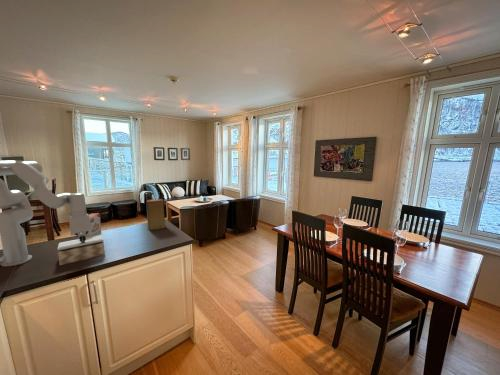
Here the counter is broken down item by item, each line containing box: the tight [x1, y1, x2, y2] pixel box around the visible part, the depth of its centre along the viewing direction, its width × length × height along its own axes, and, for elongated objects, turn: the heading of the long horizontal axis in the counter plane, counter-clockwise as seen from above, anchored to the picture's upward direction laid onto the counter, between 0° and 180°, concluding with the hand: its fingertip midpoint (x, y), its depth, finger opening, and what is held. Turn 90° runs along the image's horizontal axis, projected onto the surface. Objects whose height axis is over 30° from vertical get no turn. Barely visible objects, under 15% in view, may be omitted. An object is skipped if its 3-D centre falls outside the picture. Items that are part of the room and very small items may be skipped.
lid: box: [57, 234, 105, 251], centre depth 136 cm, size 22×14×1 cm, turn 129°
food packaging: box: [146, 198, 166, 231], centre depth 188 cm, size 13×9×25 cm
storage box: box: [57, 241, 106, 266], centre depth 137 cm, size 22×14×8 cm, turn 129°
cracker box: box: [80, 212, 102, 238], centre depth 154 cm, size 14×6×21 cm, turn 8°
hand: (83, 241), depth 133 cm, fingers closed
